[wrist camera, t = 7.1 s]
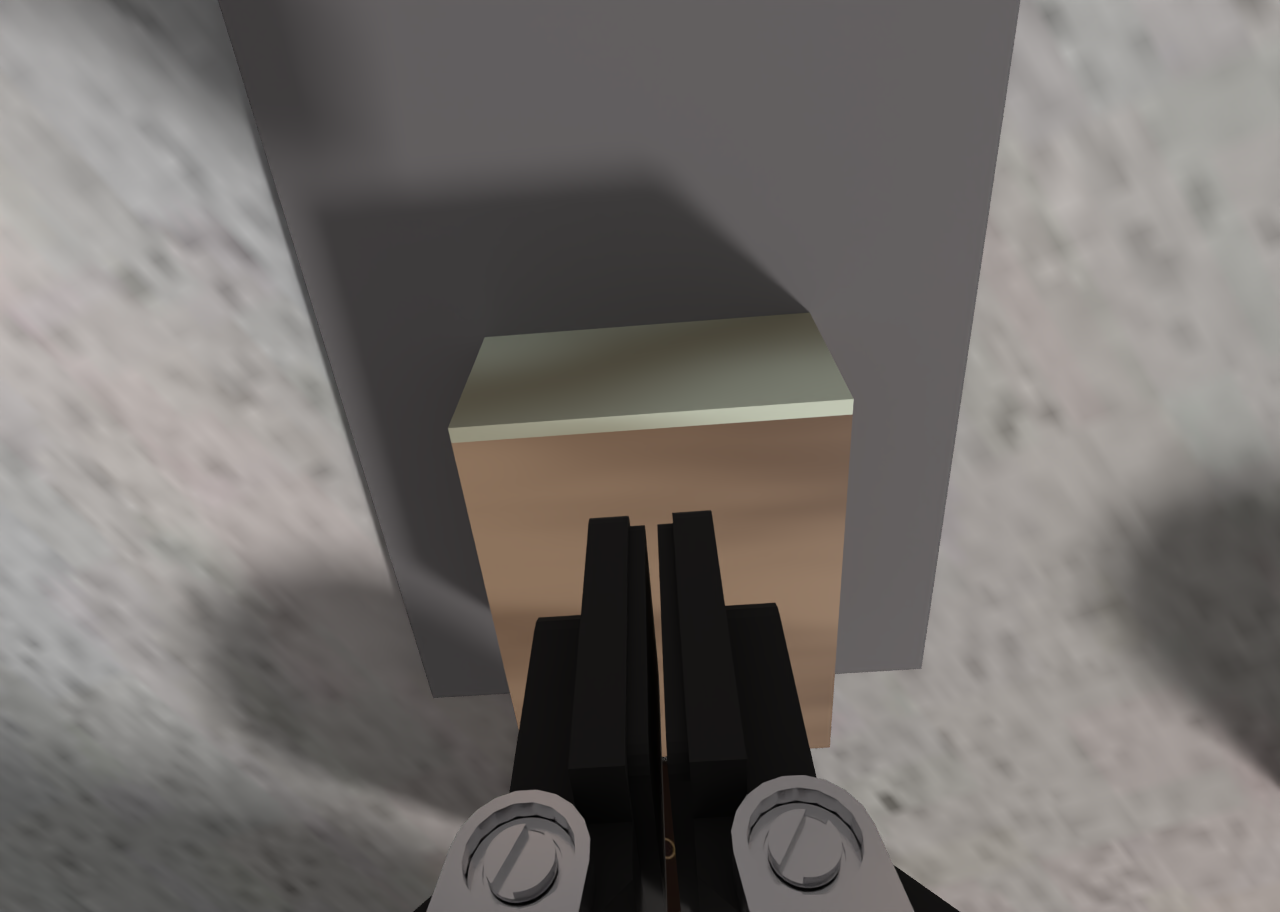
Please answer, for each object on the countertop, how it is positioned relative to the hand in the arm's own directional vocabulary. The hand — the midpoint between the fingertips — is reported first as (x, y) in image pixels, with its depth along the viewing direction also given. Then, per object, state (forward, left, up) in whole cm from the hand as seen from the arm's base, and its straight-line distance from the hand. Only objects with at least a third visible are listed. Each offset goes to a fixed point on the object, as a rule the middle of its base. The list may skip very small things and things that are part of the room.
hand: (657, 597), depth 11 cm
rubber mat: (-1, 0, -8) cm, 8 cm away
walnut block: (+1, 0, -6) cm, 6 cm away
